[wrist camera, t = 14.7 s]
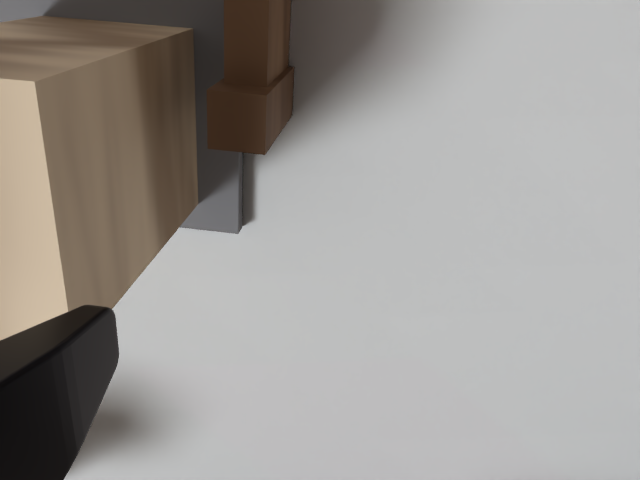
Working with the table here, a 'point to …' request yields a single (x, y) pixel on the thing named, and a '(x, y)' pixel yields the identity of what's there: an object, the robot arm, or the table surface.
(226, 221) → the panel
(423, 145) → the table surface
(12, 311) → the block
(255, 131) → the wooden frame
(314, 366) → the table surface
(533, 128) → the table surface
